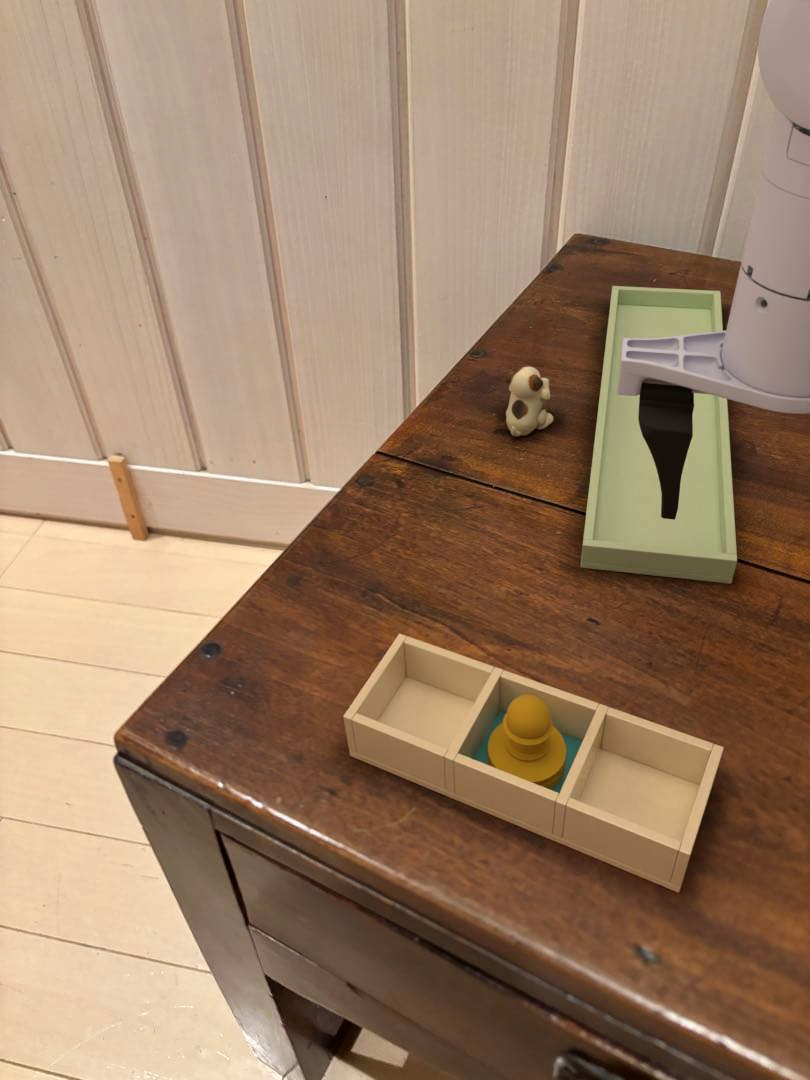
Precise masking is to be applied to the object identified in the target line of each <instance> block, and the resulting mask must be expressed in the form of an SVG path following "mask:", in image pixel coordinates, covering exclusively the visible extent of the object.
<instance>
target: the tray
mask: <svg viewBox="0 0 810 1080" xmlns="http://www.w3.org/2000/svg"><path fill="white" fill-rule="evenodd" d="M722 308H723V307H722V294H721V290H707V289H687V288H686V289H685V288H665V287H663V288H662V287H643V286H625V285H624V286H623V285H612V287H611V295H610V302H609V310H608V312H609V313H608V318H607V319H608V320H607V328H606V338H605V346H604V347H605V348H604V353H603V363H602V372H601V380H600V391H599V399H598V409H597V416H596V425H595V433H594V440H593V441H594V442H593V451H592V459H591V468H590V477H589V484H588V494H587V503H586V511H585V520H584V527H583V530H584V531H583V537H582V538H583V539H582V544H581V545H582V547H581V556H580V557H581V558H580V565H579V566H580V568H581V569H590V570H591V569H592V570H597V571H598V570H600V571H609V572H617V573H619V572H620V573H625V574H626V573H629V574H636V575H647V576H656V577H663V578H664V577H665V578H675V579H682V580H692V581H702V582H710V583H711V582H712V583H720V584H729V585H731V584H733V579H734V576H735V572H736V568H737V563H738V551H737V535H736V533H737V532H736V520H735V518H736V517H735V504H734V503H735V502H734V501H735V500H734V487H733V471H732V469H733V468H732V458H731V457H732V456H731V455H732V454H731V440H730V439H731V438H730V423H729V404H728V399H726V398H722V397H719V396H715V395H711V394H701V393H694V409H693V414H692V420H693V437H692V439H691V443H690V446H689V449H688V452H687V456H686V460H685V463H684V467H683V471H682V476H681V483H680V493H679V503H678V510H677V514H676V518H675V520H673V519H664V518H662V517H661V498H662V493H661V487H660V481H659V477H658V473H657V469H656V466H655V462H654V460H653V457H652V454H651V452H650V450H649V447H648V445H647V443H646V441H645V439H644V438H643V436H642V432H641V429H640V425H639V420H638V415H639V398H640V394H639V395H637V396H629V395H618V394H617V382H618V372H619V364H620V357H621V349H622V342H623V338H640V339H641V338H663V337H672V336H681V335H690V334H699V333H708V332H716V331H724V328H723V327H724V325H723V324H724V323H723V310H722Z"/></svg>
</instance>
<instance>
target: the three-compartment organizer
mask: <svg viewBox="0 0 810 1080" xmlns="http://www.w3.org/2000/svg"><path fill="white" fill-rule="evenodd" d="M526 694H530V695H535V696H538V697H540V698H541V699H542V700H544V701H545V703H546V704H547V705H548V707H549V709H550V713H551V719H552V722H553V727H555V728H556V729H557V730H558V731H559V733H560V734H561V735H562V737H563V739H564V742H565V745H566V759H565V767H564V773H563V776H562V778H561V780H560V782H559V783H558V784H557V785H556V786H555V787H554V788H553V789H552V790H550V789H547V788H545V787H542V786H540V785H537V784H535V783H532V782H530V781H527V780H525V779H522V778H520V777H517V776H514V775H512V774H509V773H507V772H504V771H502V770H499V769H497V768H494V767H492V766H489V765H488V742H489V738H490V736H491V734H492V732H493V731H494V730H495V729H496V727H498V726H499V725H500V724H501V723H503V719H504V716H505V714H506V713H507V709H508V707H509V705H510V703H511V702H512V701H513V700H514V699H515V698H517V697H519V696H521V695H526ZM342 717H343V718H342V719H343V723H344V724H343V725H344V729H345V730H344V731H345V734H346V735H345V736H346V741H347V747H348V750H349V752H348V753H349V756H350V757H351V758H354V759H356V760H359V761H360V762H361V761H362V762H364V763H366V764H367V765H371V766H373V767H376V768H378V769H380V770H382V771H385V772H388V773H390V774H392V775H395V776H396V777H400V778H402V779H405V780H406V781H410V782H412V783H414V784H417V785H418V786H421V787H423V788H426V789H428V790H431V791H432V792H436V793H438V794H441V795H443V796H445V797H447V798H450V799H452V800H455V801H457V802H459V803H461V804H465V805H467V806H469V807H472V808H474V809H477V810H479V811H481V812H483V813H486V814H488V815H490V816H493V817H496V818H498V819H501V820H503V821H505V822H507V823H510V824H512V825H515V826H517V827H520V828H522V829H524V830H527V831H529V832H531V833H534V834H536V835H539V836H541V837H543V838H546V839H549V840H551V841H553V842H556V843H558V844H561V845H562V846H565V847H568V848H570V849H572V850H575V851H577V852H580V853H582V854H585V855H587V856H588V857H592V858H594V859H597V860H599V861H600V862H603V863H606V864H608V865H611V866H613V867H615V868H618V869H621V870H623V871H625V872H628V873H629V874H632V875H634V876H637V877H639V878H642V879H644V880H646V881H649V882H651V883H654V884H656V885H658V886H661V887H664V888H666V889H668V890H670V891H673V892H675V893H680V892H681V888H682V886H683V882H684V879H685V876H686V872H687V869H688V866H689V863H690V860H691V856H692V853H693V850H694V848H695V844H696V841H697V838H698V834H699V831H700V828H701V825H702V821H703V819H704V815H705V812H706V809H707V807H708V803H709V799H710V796H711V793H712V790H713V787H714V784H715V779H716V777H717V773H718V770H719V766H720V764H721V760H722V757H723V752H724V750H725V747H724V746H722V745H718V744H717V743H713V742H710V741H708V740H705V739H702V738H699V737H696V736H693V735H691V734H688V733H685V732H682V731H680V730H676V729H674V728H670V727H668V726H665V725H661V724H659V723H656V722H654V721H650V720H648V719H645V718H642V717H640V716H636V715H634V714H631V713H628V712H626V711H623V710H619V709H617V708H615V707H614V708H613V707H611V706H607V705H605V704H602V703H599V702H596V701H594V700H591V699H588V698H584V697H582V696H579V695H576V694H574V693H571V692H568V691H565V690H562V689H559V688H556V687H553V686H551V685H548V684H545V683H543V682H540V681H536V680H533V679H530V678H528V677H525V676H521V675H520V674H516V673H513V672H511V671H508V670H505V669H502V668H500V667H497V666H494V665H491V664H489V663H485V662H482V661H479V660H476V659H474V658H472V657H468V656H465V655H462V654H459V653H457V652H455V651H451V650H448V649H445V648H443V647H440V646H437V645H433V644H431V643H429V642H425V641H423V640H420V639H417V638H414V637H411V636H407V635H406V634H402V633H398V635H397V636H396V637H395V639H394V641H393V642H392V643H391V645H390V647H389V648H388V649H387V651H386V653H385V654H384V655H383V657H382V658H381V660H380V661H379V662H378V664H377V666H376V667H375V669H374V670H373V672H372V673H371V675H370V676H369V678H368V679H367V680H366V682H365V683H364V685H363V686H362V688H361V689H360V691H359V692H358V694H357V695H356V697H355V698H354V700H353V701H352V703H351V704H350V706H348V708H347V709H346V711H345V713H344V714H343V716H342Z"/></svg>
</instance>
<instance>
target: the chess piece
mask: <svg viewBox="0 0 810 1080" xmlns="http://www.w3.org/2000/svg"><path fill="white" fill-rule="evenodd" d="M565 759H566V745H565V742H564V739H563V737H562V735H561V734H560V733H559V731H558V730H557V729H556V728H555V727H553V722H552V719H551V713H550V709H549V707H548V705H547V704H546V703H545V701H544V700H542V699H541V698H540V697H538V696H535V695H530V694H526V695H521V696H519V697H517V698H515V699H514V700H513V701H512V702H511V703H510V705H509V707H508V709H507V713H506V714H505V716H504V719H503V723H501V724H500V725H499V726H498V727H496V729H495V730H494V731H493V732H492V734H491V736H490V738H489V742H488V765H489V766H492V767H494V768H497V769H499V770H502V771H504V772H507V773H509V774H512V775H514V776H517V777H520V778H522V779H525V780H527V781H530V782H532V783H535V784H537V785H540V786H542V787H545V788H547V789H550V790H552V789H553V788H554V787H555V786H556V785H557V784H558V783H559V782H560V780H561V778H562V776H563V773H564V767H565Z"/></svg>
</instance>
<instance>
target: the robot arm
mask: <svg viewBox="0 0 810 1080" xmlns="http://www.w3.org/2000/svg"><path fill="white" fill-rule="evenodd" d="M760 24H761V25H760V28H759V34H758V45H757V57H758V66H759V73H760V76H761V80H762V83H763V86H764V88H765V91H766V92H767V95H768V97H769V99H770V100H771V102H772V103H773V104H774V109H773V114H772V119H771V122H770V127H769V132H768V137H767V141H766V146H765V149H764V154H763V158H762V162H761V163H762V164H761V167H760V168H761V169H760V172H759V177H758V181H757V187H756V191H755V196H754V201H753V205H752V209H751V214H750V217H749V222H748V227H747V232H746V236H745V237H746V238H745V241H744V246H743V251H742V255H741V262H740V266H739V270H738V276H737V281H736V284H735V288H734V293H733V296H732V297H733V298H732V302H731V307H730V310H729V311H730V312H729V316H728V321H727V325H726V330H723V331H716V332H708V333H699V334H690V335H681V336H672V337H663V338H641V339H640V338H623V342H622V349H621V357H620V364H619V372H618V382H617V394H618V395H629V396H637V395H639V394H640V398H639V415H638V420H639V425H640V429H641V432H642V436H643V438H644V439H645V441H646V443H647V445H648V447H649V450H650V452H651V454H652V457H653V460H654V462H655V466H656V469H657V473H658V477H659V481H660V487H661V493H662V498H661V517H662V518H664V519H673V520H675V518H676V514H677V510H678V503H679V493H680V483H681V476H682V471H683V467H684V463H685V460H686V456H687V452H688V449H689V446H690V443H691V439H692V437H693V420H692V414H693V409H694V393H701V394H711V395H715V396H719V397H722V398H726V399H727V400H729V401H733V402H736V403H741V404H744V405H747V406H751V407H755V408H759V409H762V410H766V411H771V412H775V413H781V414H791V415H807V414H810V0H769V2H768V4H767V6H766V9H765V11H764V14H763V18H762V21H761V23H760Z"/></svg>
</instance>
